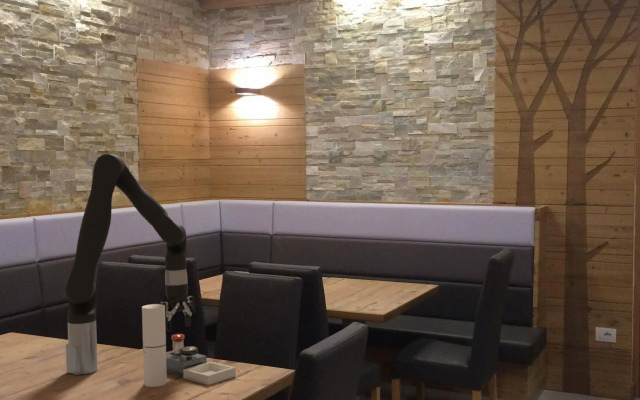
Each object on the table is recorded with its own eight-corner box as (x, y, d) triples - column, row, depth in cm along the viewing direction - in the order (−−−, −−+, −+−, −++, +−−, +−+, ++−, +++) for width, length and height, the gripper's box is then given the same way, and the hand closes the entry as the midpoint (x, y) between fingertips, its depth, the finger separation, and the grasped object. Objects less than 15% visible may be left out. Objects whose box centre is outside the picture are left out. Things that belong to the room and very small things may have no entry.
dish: (208, 385, 234) (208, 375, 233) (183, 378, 241) (183, 369, 241) (235, 376, 243) (235, 367, 243) (211, 370, 250) (210, 361, 250)
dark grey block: (183, 377, 243) (183, 352, 242) (155, 369, 252) (154, 345, 252) (206, 370, 250) (206, 346, 250) (178, 363, 260) (177, 340, 259)
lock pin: (177, 370, 251) (177, 337, 251) (169, 367, 254) (168, 335, 253) (187, 367, 255) (187, 335, 254) (179, 365, 257) (178, 333, 257)
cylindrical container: (155, 388, 231) (153, 309, 230) (139, 384, 235) (137, 307, 234) (171, 382, 237) (169, 305, 236) (155, 379, 241) (153, 303, 240)
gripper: (185, 278, 261) (187, 323, 262) (152, 284, 250) (154, 331, 251) (199, 280, 256) (201, 326, 257) (167, 286, 245) (168, 334, 246)
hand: (178, 329), depth 254 cm, fingers open, 8 cm apart
